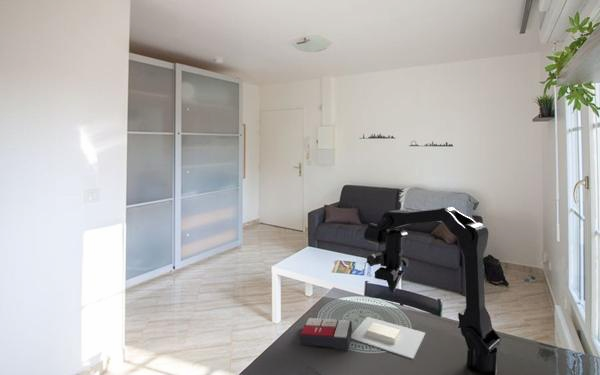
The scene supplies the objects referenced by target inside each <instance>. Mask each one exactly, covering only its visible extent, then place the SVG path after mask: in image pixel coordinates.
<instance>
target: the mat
mask: <svg viewBox="0 0 600 375" xmlns="http://www.w3.org/2000/svg"><path fill="white" fill-rule="evenodd" d="M373 322H374V323H378V324H381V325H385V326H388V327H392V328H395V329H399V330H400V336H399V338H398V340H397V341H396V343H395V344H393V343H389V342H386V341H383V340H380V339H377V338H373V337H370V336H367V330H368V328H369V327H370V326H371V325H372V324H373ZM425 335H426V332H424V331H421V330H416V329H413V328H410V327H406V326H403V325H400V324H395V323H391V322H388V321H384V320H382V319H381V320H380V319H377V318H374V317H370V316H367V317H366V318H364V320H363V321H362V322H361V323H360V324H359V325H358V327H357V328H356V329H355V330H354V331H352V335H351V340H353V341H356V342H358V343H362V344H365V345H369V346H371V347H373V348H377V349H380V350H384V351H386V352H390V353H392V354H396V355H399V356H402V357H405V358H407V359H411V360H414V359H415V356H416V354H417V352H418V350H419V348H420V346H421V344H422V343H423V340H424V337H425Z"/></svg>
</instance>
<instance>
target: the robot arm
mask: <svg viewBox="0 0 600 375" xmlns="http://www.w3.org/2000/svg"><path fill="white" fill-rule="evenodd" d="M434 222H435V223H436V222H441V223H443V224H444V225H445V227H446V228H447V229H448V231H449V232H450V233H452V234H453V235H454V236H455V237H456V241H457V244H458V248H459V250H460V251H461V254H462V256H463V262H464V264H463V267H464V284H465V286H464V287H465V289H464V290H465V292H464V293H465V308H464V309H463V310H461V311H460V312H458V313H457V318H458V322H459V323H458V327H457V328H458V329H460V333H461V336H462V337H463V338H464V340H465V344H466V347H467V353H466V354H467V355H466V357H467V358H466V365H468V368H467V370H468V371H469V372H471V373H475V374H477V375H497V369H498V365H497V362H498V361H497V358H498V347H499V345H500V344H501V342H502V338H501V337H500V335H499V334H498V332H496V331H495V329H494V328H493V325H492V320H491V316H490V314H489V312H488V310H487V308H486V302H485V276H484V275H485V274H484V254H485V252H486V248H487V246H488V240H489V229H488V228H487V227H486V226H485V225H484V224H483V223H481V222H478V221H475V220H474V219H472V218H471V217H469V216H467V215H465V214H463V213H461V212H459V211H458V210H457V209H455V207H452V206H446V207H442V208H436V209H435V208H433V209H425V210H417V211H416V210H414V211H411V210H410V211H409V210H403V209H395V210H390V211H385V212H383V214H382V217H381V220H380V221H379V223H378V224H377V223H375V222H369V223H368V224H367V227H366V229H365V231H364V234H363V238H364V240H365V242H368V243H372V244H376V245H380V246H381V245H383V248H384V249H383V250H382V251H381V252H377V253H372V254H369V255H367V257H366V260H365V262H366V263H367V264H368V265H369V267H374V266H377V265H380V267H379V268H378V269H377V270H375V271H374V279H377V280H381V281H386V283H387V285H388V286H387V287H388V289H389V292H390V293H392V294H393V293H395V290H396V289H397V287H398V284H399V282H400V280H401V278H402V276H403V275H404V273H405V271H404V270H401V269H400V268H401V267H403V266H404V268H405V269H406V268H408V267H409V259H408V258H407V257H402V254H404V249H403V238H405V237H408V236H409V233H408V232H407V231H406V230H405V229H404V228H401V227H404V226H408V225H411V224H424V223H434ZM396 228H399V229H396Z"/></svg>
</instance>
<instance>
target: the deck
mask: <svg viewBox="0 0 600 375" xmlns="http://www.w3.org/2000/svg"><path fill="white" fill-rule="evenodd" d="M367 336H370V337H373V338H377V339H380V340H383V341H386V342H389V343H393V344H395V343H396V341H397V340H398V338H399V336H400V330H399V329H395V328H392V327H388V326H385V325H381V324H378V323H374V322H373V324H372V325H371V326H370V327H369V328H368V330H367Z"/></svg>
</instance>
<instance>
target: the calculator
mask: <svg viewBox="0 0 600 375" xmlns="http://www.w3.org/2000/svg"><path fill="white" fill-rule="evenodd" d="M352 324H353V323H352V321H351V320H344V319H342V320H341V319H339V320H338V319H335V318H334V319H333V318H317V317H315V318H313V317H308V319H307V320H306V322H305V324H304V326H303V328H302V330H301V332H300V334H299V342H300V345H303V346H316V347H330V348H331V347H332V348H334V349H336V350H344V351H347V350H349V348H350V344H351V341H352V339H351V335H352V333H353V325H352Z"/></svg>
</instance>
